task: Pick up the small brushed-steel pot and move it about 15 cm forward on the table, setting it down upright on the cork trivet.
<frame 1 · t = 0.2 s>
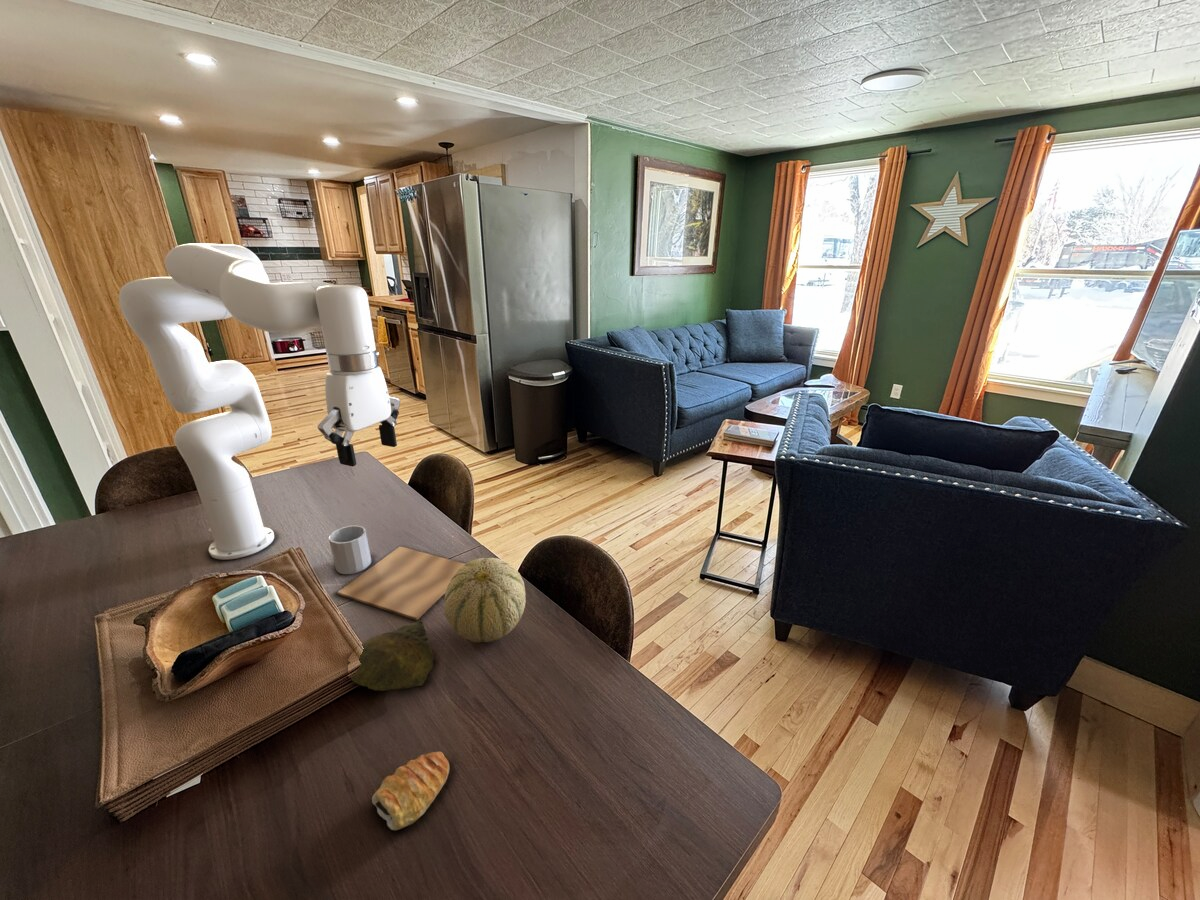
hand: (369, 454, 87), 31 cm above the table, tool pointing down, fingers open, 9 cm apart
pottery fragment: (395, 660, 82), on the table
trivet: (407, 580, 102), on the table
pastry: (411, 796, 61), on the table
pot: (354, 564, 106), on the table
cantaloupe: (488, 630, 89), on the table
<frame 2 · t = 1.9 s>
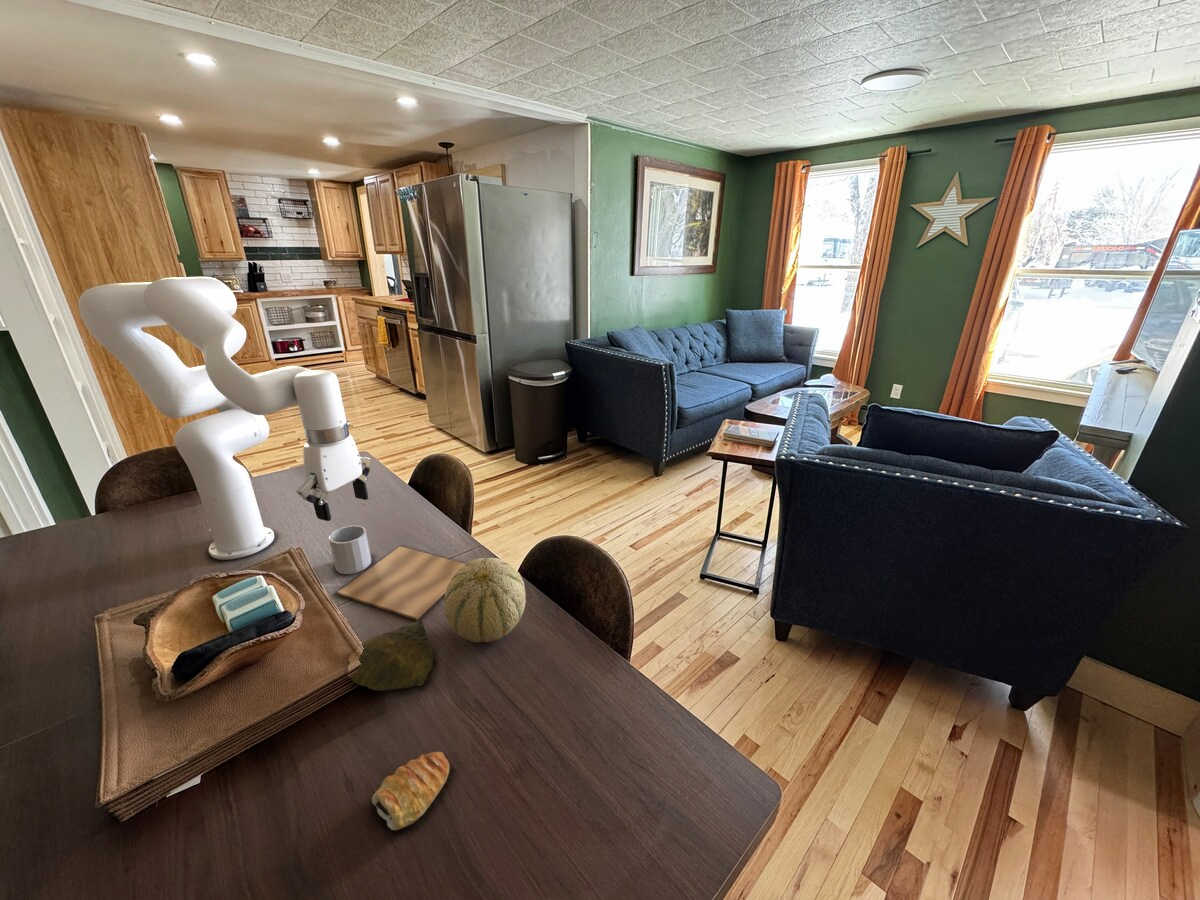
hand: (344, 508, 101), 15 cm above the table, tool pointing down, fingers open, 9 cm apart
nothing on the table moved.
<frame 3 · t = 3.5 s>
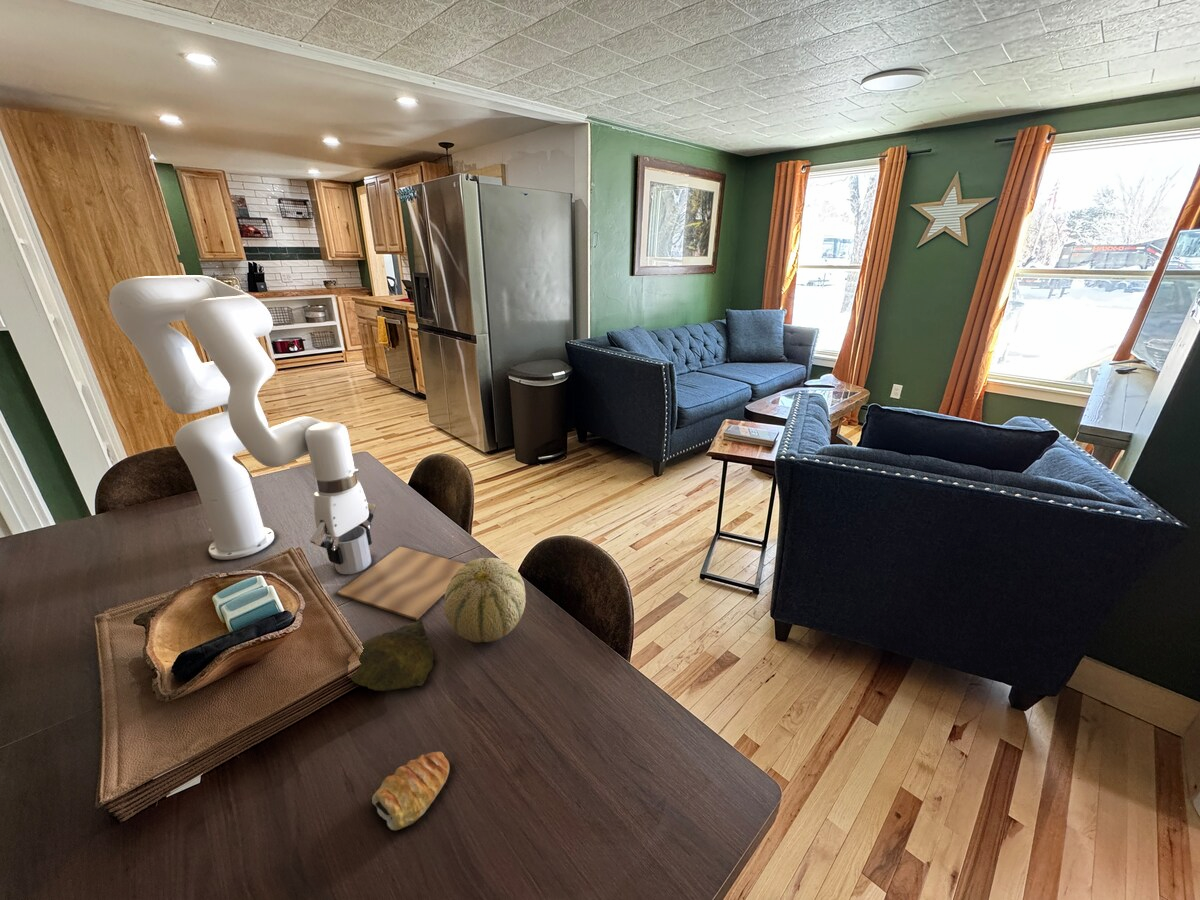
hand: (351, 552, 105), 3 cm above the table, tool pointing down, fingers closed on pot, 7 cm apart
pot: (354, 564, 106), on the table, touching gripper
everything else where it was.
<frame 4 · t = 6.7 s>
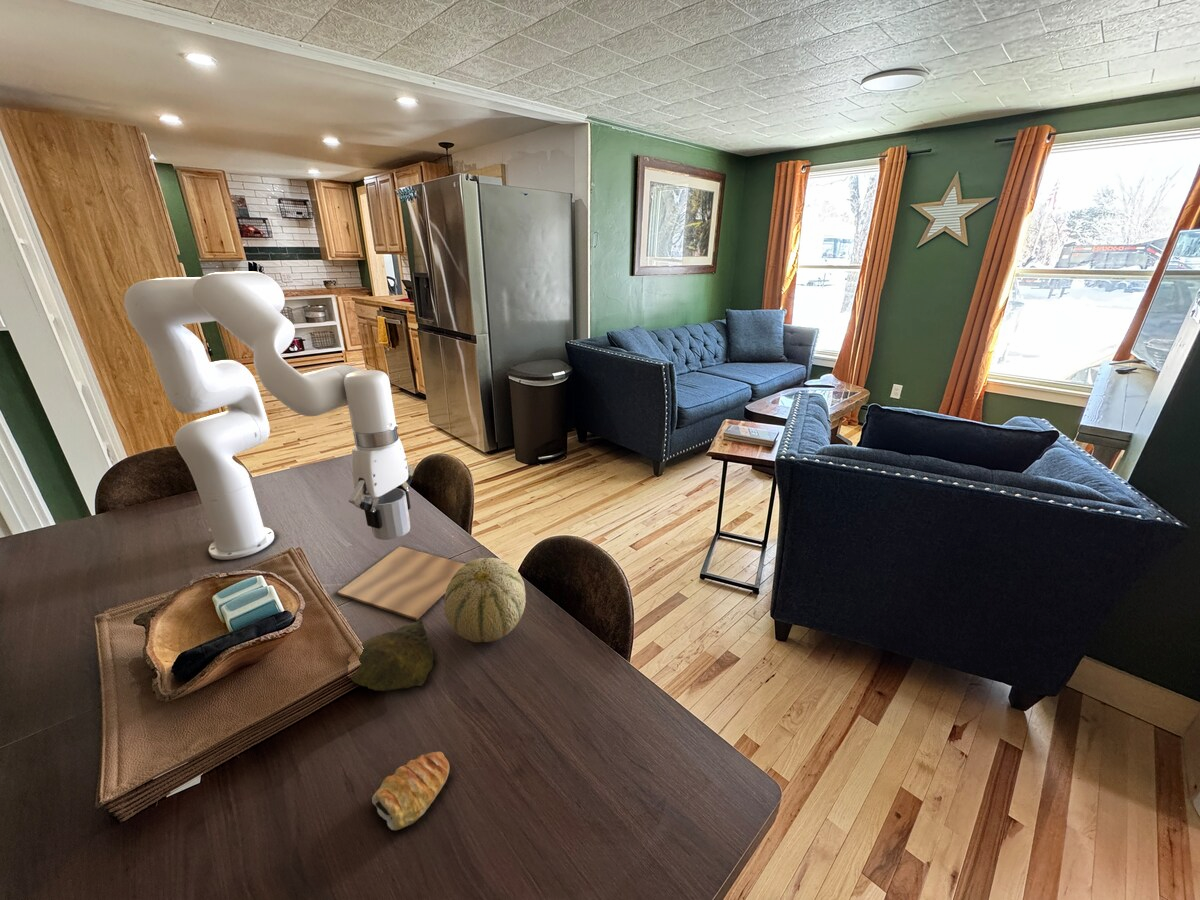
hand: (389, 516, 96), 15 cm above the table, tool pointing down, fingers closed on pot, 7 cm apart
pot: (392, 530, 98), point 12 cm above the table, touching gripper
everything else where it was.
when the fingers open (4 cm above the table, at t = 9.9 s): pot stays where it is, resting on trivet.
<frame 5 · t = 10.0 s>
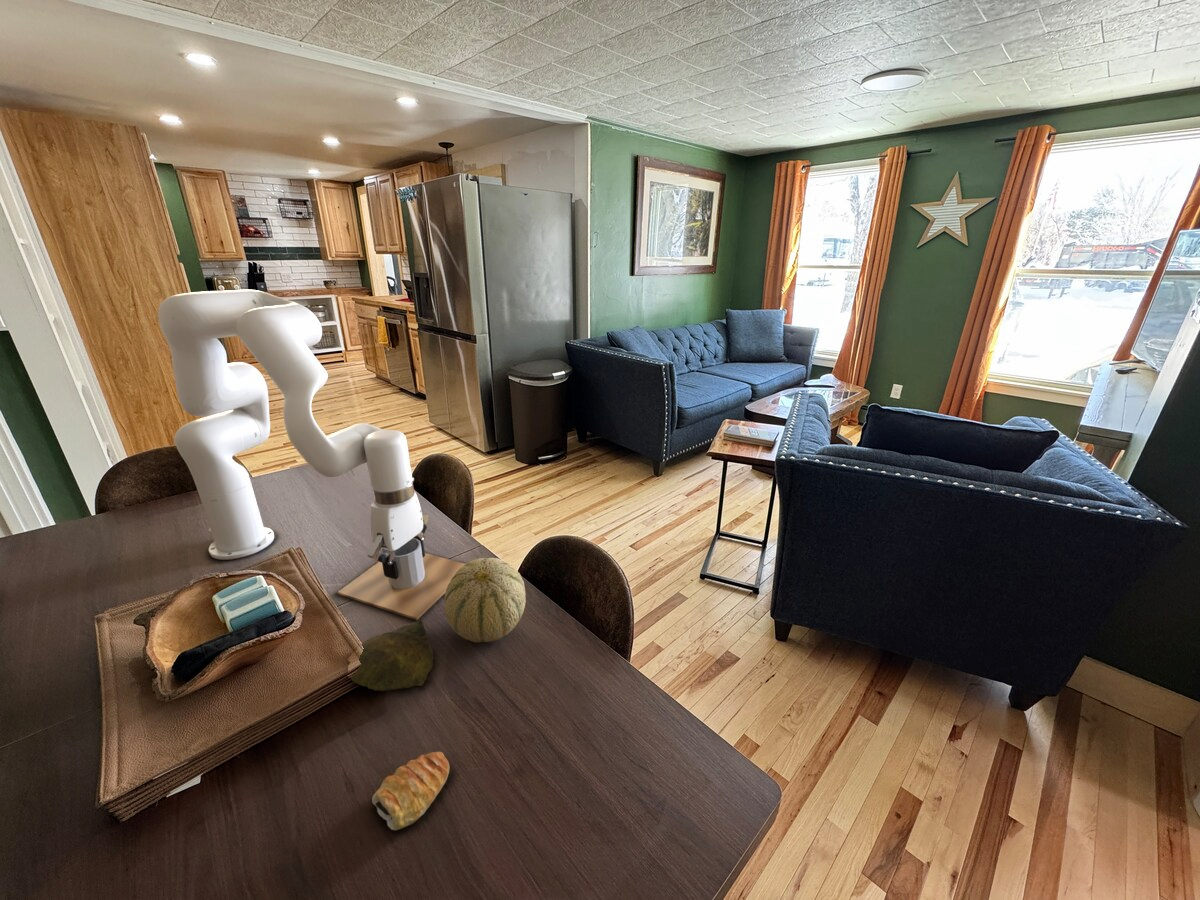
hand: (405, 565, 100), 4 cm above the table, tool pointing down, fingers open, 7 cm apart
pot: (407, 578, 101), point 1 cm above the table, touching trivet
everything else where it was.
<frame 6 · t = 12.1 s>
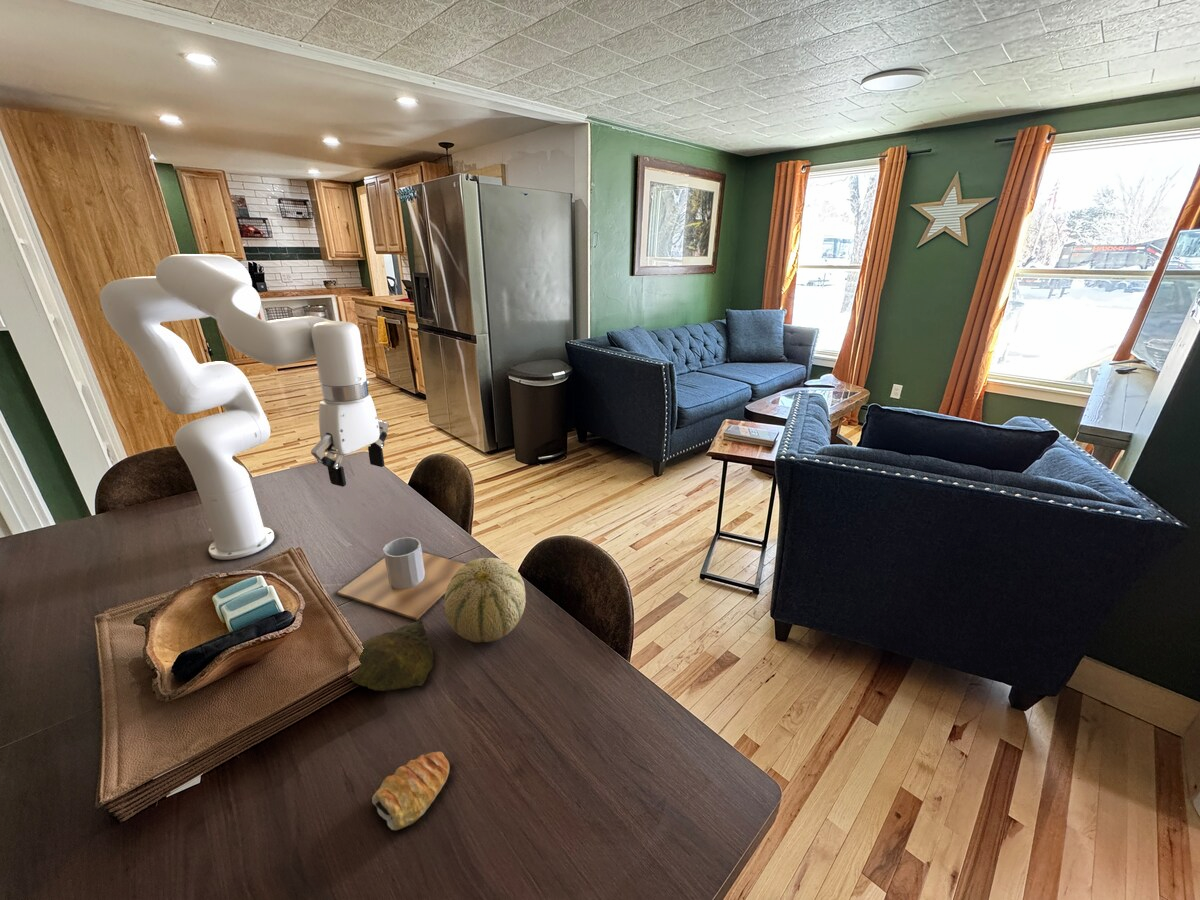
hand: (359, 474, 93), 24 cm above the table, tool pointing down, fingers open, 9 cm apart
nothing on the table moved.
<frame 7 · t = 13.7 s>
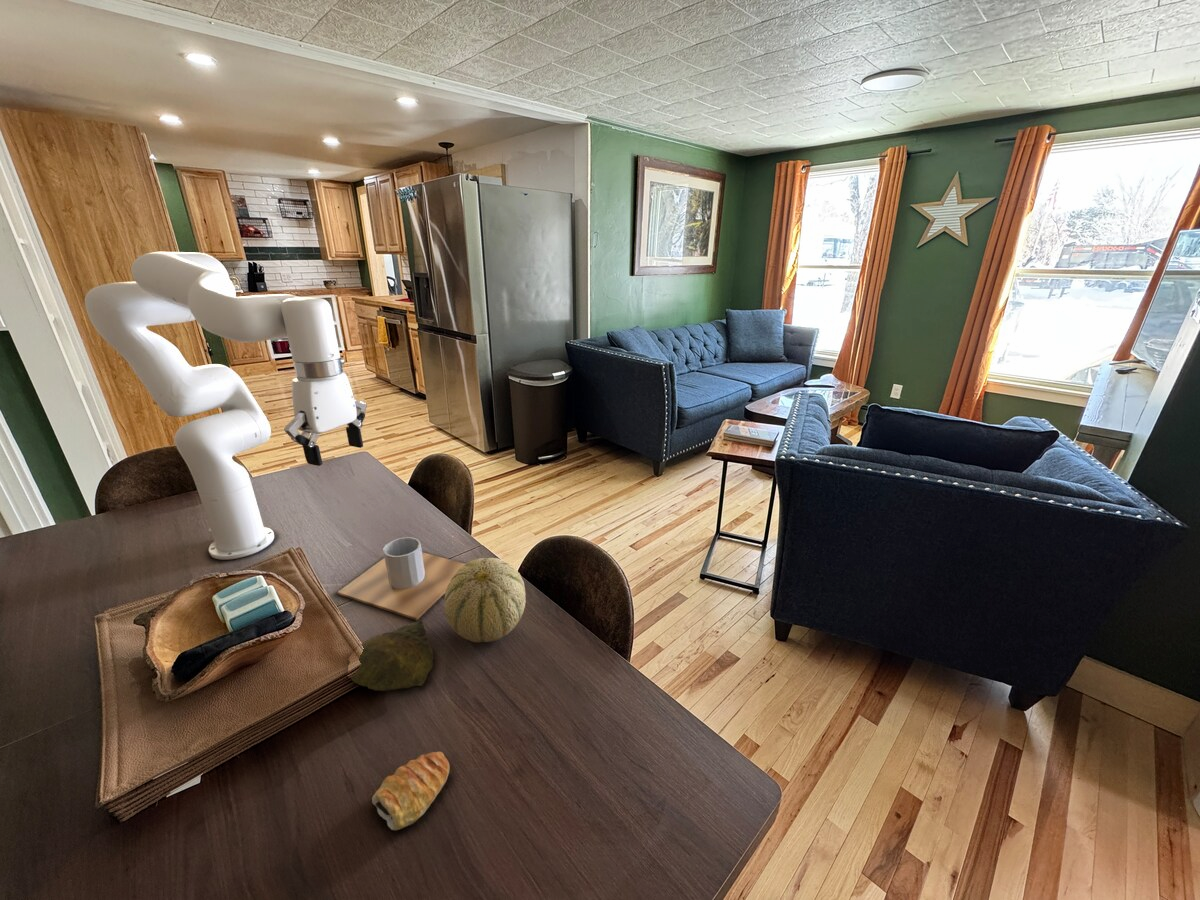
hand: (336, 455, 93), 28 cm above the table, tool pointing down, fingers open, 9 cm apart
nothing on the table moved.
at the end: pot inside the target area (0.0 cm from its centre), point 0.6 cm above the table; pot tilted 0°; pot moved 15.0 cm from its start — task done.
